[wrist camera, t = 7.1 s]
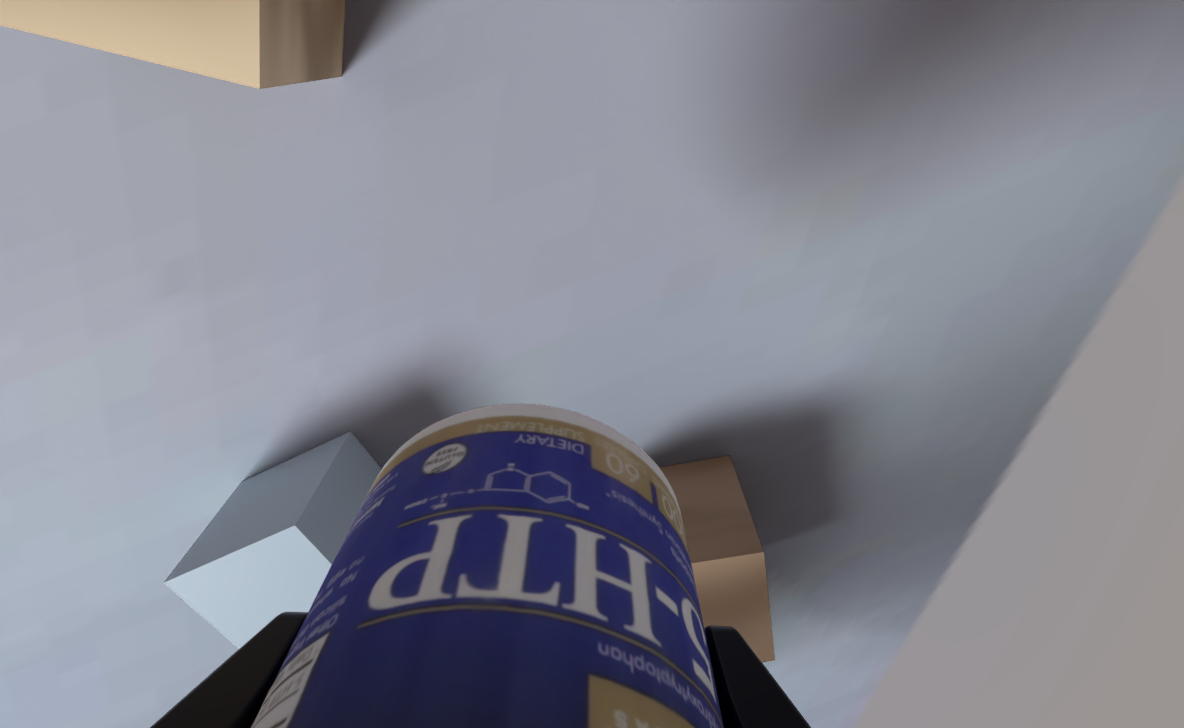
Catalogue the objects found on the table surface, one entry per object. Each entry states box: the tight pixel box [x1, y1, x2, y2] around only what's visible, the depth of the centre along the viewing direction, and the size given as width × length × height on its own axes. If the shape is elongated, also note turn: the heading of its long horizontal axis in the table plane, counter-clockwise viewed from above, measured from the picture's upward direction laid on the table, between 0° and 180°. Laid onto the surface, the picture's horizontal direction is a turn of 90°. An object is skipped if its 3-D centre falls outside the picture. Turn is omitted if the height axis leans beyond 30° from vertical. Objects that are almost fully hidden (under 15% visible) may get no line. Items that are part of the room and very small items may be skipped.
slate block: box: [164, 431, 382, 649], centre depth 22 cm, size 5×5×5 cm
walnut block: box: [659, 455, 775, 662], centre depth 22 cm, size 5×5×5 cm
